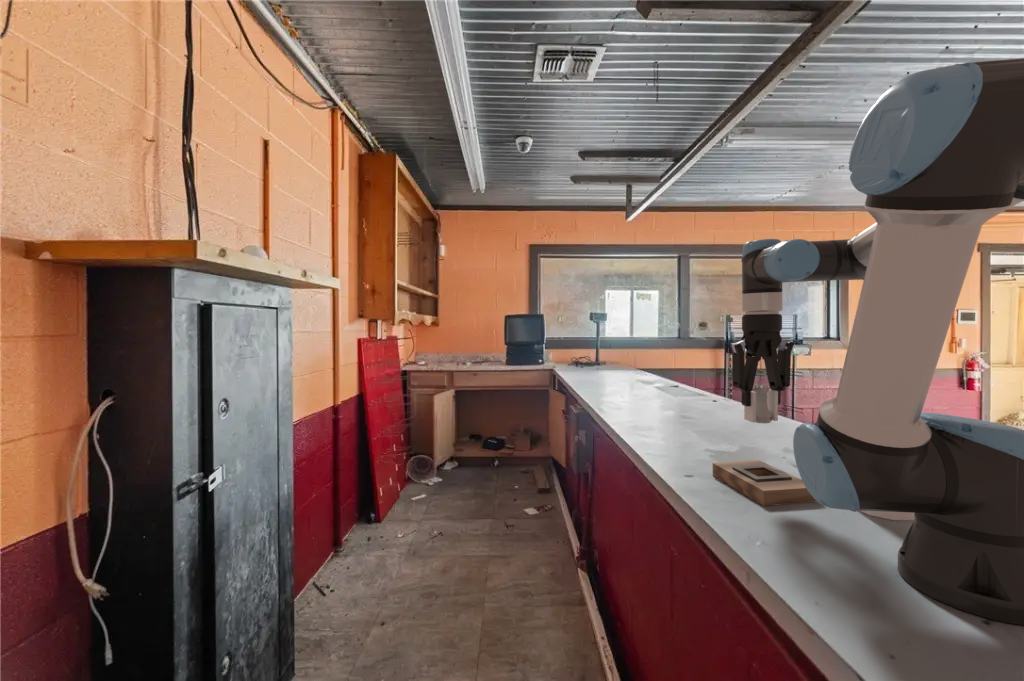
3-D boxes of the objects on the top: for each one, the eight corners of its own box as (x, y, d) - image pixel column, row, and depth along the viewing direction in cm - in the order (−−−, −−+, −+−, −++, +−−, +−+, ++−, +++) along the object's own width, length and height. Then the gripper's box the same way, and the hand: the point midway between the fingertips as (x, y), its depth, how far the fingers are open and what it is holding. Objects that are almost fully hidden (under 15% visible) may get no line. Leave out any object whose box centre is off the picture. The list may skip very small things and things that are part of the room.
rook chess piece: (775, 424, 92) (776, 386, 91) (752, 423, 92) (753, 386, 92) (767, 418, 96) (767, 383, 95) (745, 418, 97) (746, 383, 96)
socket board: (818, 501, 88) (818, 484, 87) (763, 505, 86) (763, 488, 86) (758, 472, 105) (758, 458, 105) (712, 475, 104) (712, 460, 104)
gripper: (785, 312, 97) (784, 414, 99) (713, 314, 95) (713, 418, 97) (812, 312, 90) (811, 422, 91) (734, 314, 88) (734, 426, 89)
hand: (760, 419), depth 94 cm, fingers closed on rook chess piece, 4 cm apart
